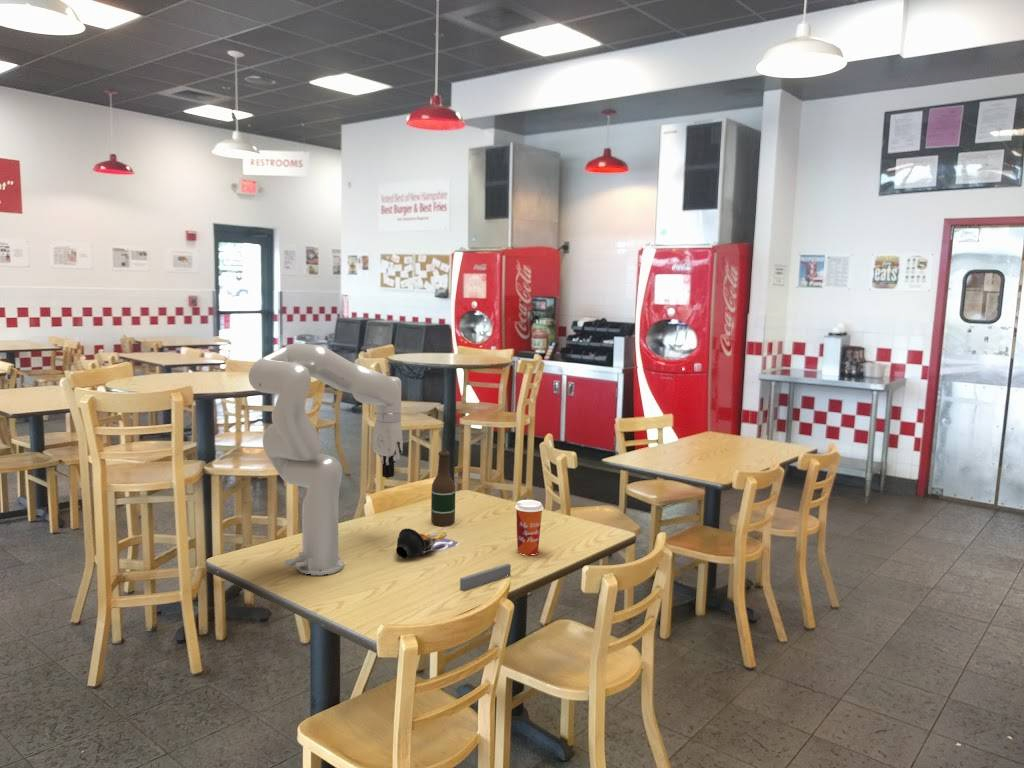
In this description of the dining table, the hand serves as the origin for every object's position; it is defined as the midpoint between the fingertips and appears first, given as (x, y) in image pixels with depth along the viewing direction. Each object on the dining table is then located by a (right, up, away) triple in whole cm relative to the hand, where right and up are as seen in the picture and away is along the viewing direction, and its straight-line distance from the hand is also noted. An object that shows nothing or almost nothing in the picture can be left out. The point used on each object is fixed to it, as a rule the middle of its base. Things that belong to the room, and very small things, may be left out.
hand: (388, 476), depth 233 cm
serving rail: (+31, -24, -31) cm, 50 cm away
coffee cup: (+43, -22, -8) cm, 48 cm away
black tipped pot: (+12, -21, -10) cm, 26 cm away
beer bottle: (+15, -18, +17) cm, 29 cm away
